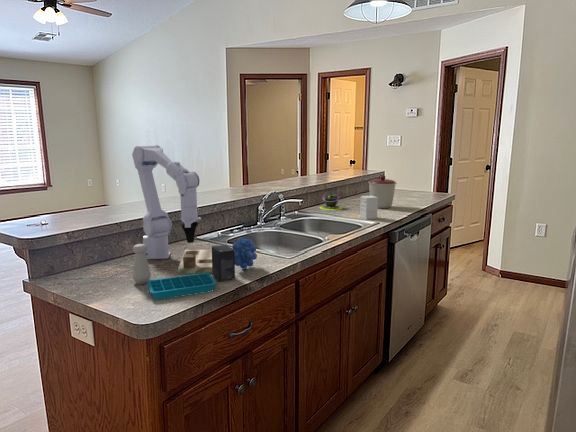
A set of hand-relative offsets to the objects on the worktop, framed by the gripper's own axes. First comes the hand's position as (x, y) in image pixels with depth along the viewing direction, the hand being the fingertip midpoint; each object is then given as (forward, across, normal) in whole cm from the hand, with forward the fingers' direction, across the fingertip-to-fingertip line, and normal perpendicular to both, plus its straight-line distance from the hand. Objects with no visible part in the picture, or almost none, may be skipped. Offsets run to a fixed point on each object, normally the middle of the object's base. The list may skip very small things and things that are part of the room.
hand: (190, 242), depth 156 cm
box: (+10, -12, -12) cm, 20 cm away
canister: (+10, +108, -112) cm, 156 cm away
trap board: (+9, +4, -2) cm, 10 cm away
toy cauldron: (+10, +110, -79) cm, 135 cm away
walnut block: (+7, -6, 0) cm, 9 cm away
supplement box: (+10, +76, -93) cm, 121 cm away
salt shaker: (+10, -14, +15) cm, 23 cm away
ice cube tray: (+10, -23, +1) cm, 25 cm away
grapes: (+10, -6, -20) cm, 23 cm away
